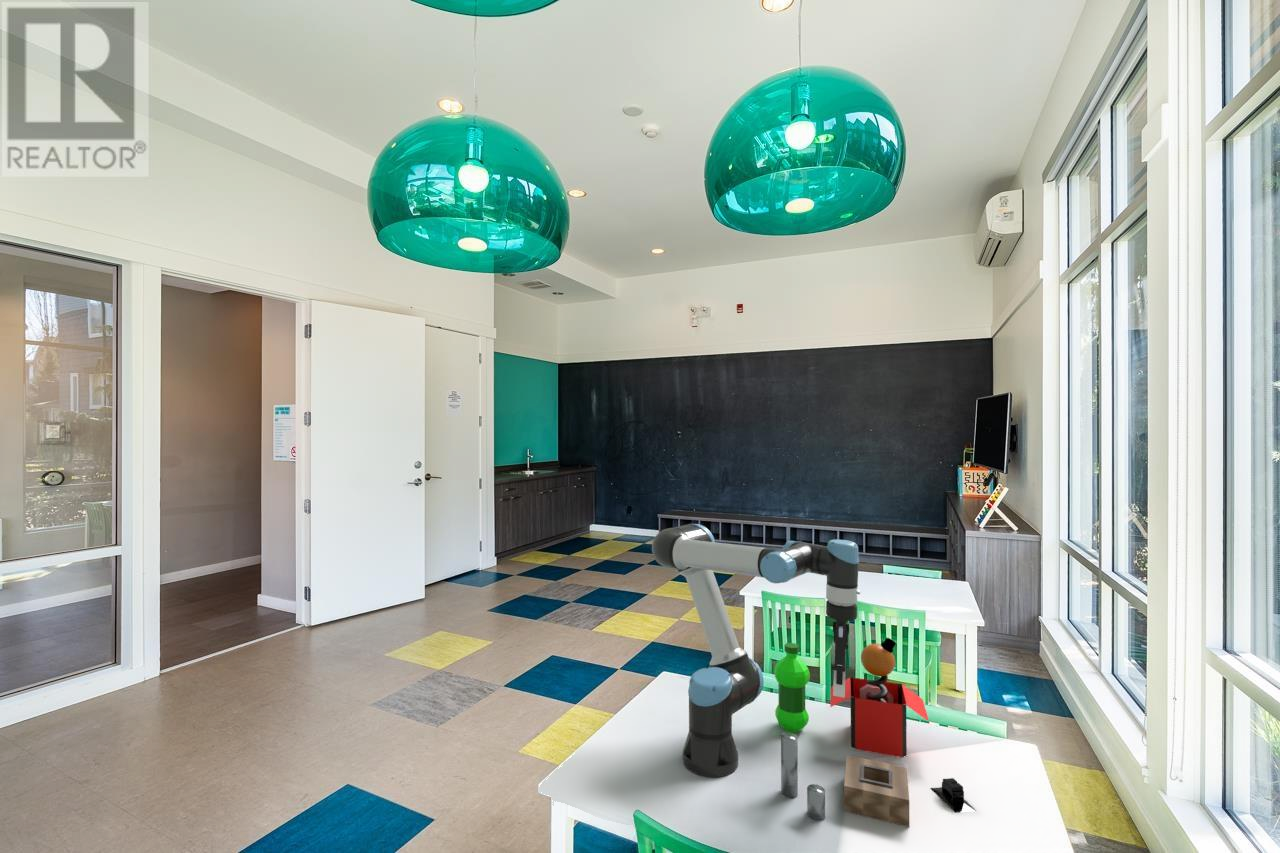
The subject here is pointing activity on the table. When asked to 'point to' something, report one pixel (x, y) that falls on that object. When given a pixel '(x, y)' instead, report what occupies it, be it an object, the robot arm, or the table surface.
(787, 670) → the plastic bottle
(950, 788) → the black notched mounting plate
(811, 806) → the short pin
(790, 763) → the long pin
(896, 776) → the hole block
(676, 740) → the table surface
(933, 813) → the table surface
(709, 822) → the table surface
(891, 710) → the jack-in-the-box
